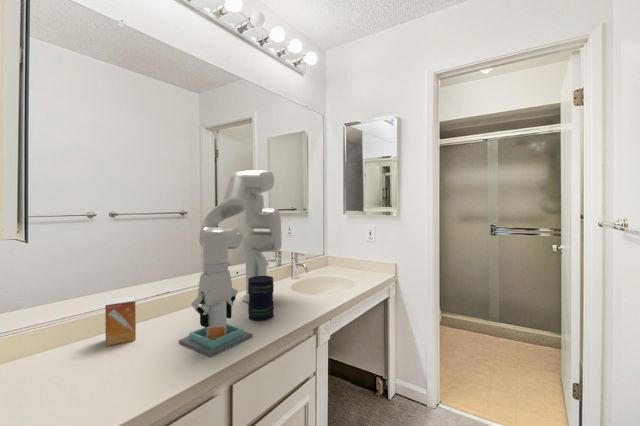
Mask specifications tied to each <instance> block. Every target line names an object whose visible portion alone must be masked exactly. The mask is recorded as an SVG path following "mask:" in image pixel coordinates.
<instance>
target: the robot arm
mask: <svg viewBox="0 0 640 426" xmlns="http://www.w3.org/2000/svg"><path fill="white" fill-rule="evenodd" d="M274 186H275V176H274V174H273V172H272V171H271V170H267V169H266V170H259V169H258V170H239V171H237V172H234V173H233V174H231V176H230V177H229V180H228V184H227V188H226V191H225V194H224V198H223V201H221V202H220V203H218V204H217V205H216V206H215V207H214V208H213V209H211V211H209V212H208V213H207V214H206V216H205V217H204V220H203V222H202V225H201V228H200V231H199V236H198V237H199V239H198V241H199V244H200V246H201V247H202V258H203V259H202V260H203V263H202V264H203V266H202V267H203V268H202V269H203V271H202V273H200V276H199V283H198V291H197V293H198V294H197V297H195V299H194V300H193V301H192V302H191V307H192V308H193V309H194V311H195V312H197V313H198V314H199V323H200V326H201V327H202V328H204V327H206V328H207V327H208V326H209V317H208V314H207V312H208V310H209V308H210V306H213V305H216V304H218V303H219V302H220V301H223V300H226V301H227V305H226V319H232V306H234V302H235V300H236V297H237V295H238V293H239V291H238V290H237V289H235V288H234V287H233V286H232V285H233V284H232V277H231V276H232V275H231V273H230V270H229V267H230V266H231V262H230V261H229V250H235V249H238V248H239V247H240V246H241V245H242V244H243V246H244V247H243V249H244V254H245V255H244V256H245V294H244V295H243V296H242V301H243V302H245V303H249V294H248V283H249V282H248V279H249V278H251V277H255V276H268V275H267V274H268V273H267V267H268V266H267V264H268V263H267V259H266V257H265V256H264V254H263V253H277V252H279V251H280V250H281V248H282V244H283V243H282V219H281V214H280V211H279V209H277V208H274V207H265V205H264V196H263V193H267V192H268V191H271V190H272V189H273V188H274ZM243 212H245V213H244V215H245V216H244V217H245V224H246V226H247V228H249V229H253V230H254V229H255V230H256V231H255V230H254V231H253V230H252V231H248V232H247V233H245V234H244V236H243V233H242V231H241V230H240V229H239V228H238V227H232V226H231V227H229V226H228V227H227V226H226V227H225V226H223V227H222V226H219V227H218V225H219V224H220V223H221V222H223V221H225V220H226V219H229V218H232V217H235V216H236V215H237V216H238V215H239V214H241V213H243ZM257 229H258V231H257ZM260 229H261V230H260ZM262 229H264V230H266V231H263V230H262ZM267 230H269V231H267Z"/></svg>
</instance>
